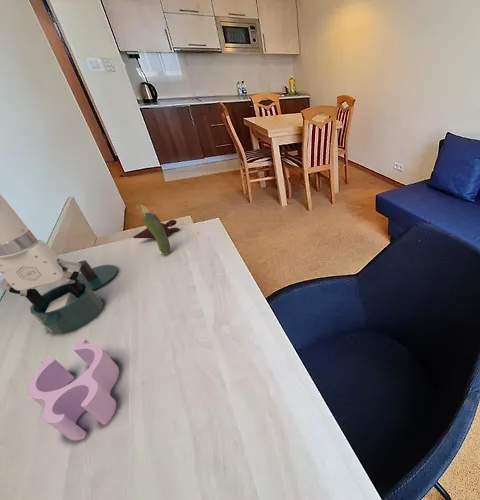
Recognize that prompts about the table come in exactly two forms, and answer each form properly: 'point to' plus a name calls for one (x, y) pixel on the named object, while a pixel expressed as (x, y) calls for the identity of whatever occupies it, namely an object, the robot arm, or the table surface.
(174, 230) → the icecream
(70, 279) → the robot arm
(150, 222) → the vegetable
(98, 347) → the clip
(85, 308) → the pot
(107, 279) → the pot lid
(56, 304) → the small box
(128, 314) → the table surface
